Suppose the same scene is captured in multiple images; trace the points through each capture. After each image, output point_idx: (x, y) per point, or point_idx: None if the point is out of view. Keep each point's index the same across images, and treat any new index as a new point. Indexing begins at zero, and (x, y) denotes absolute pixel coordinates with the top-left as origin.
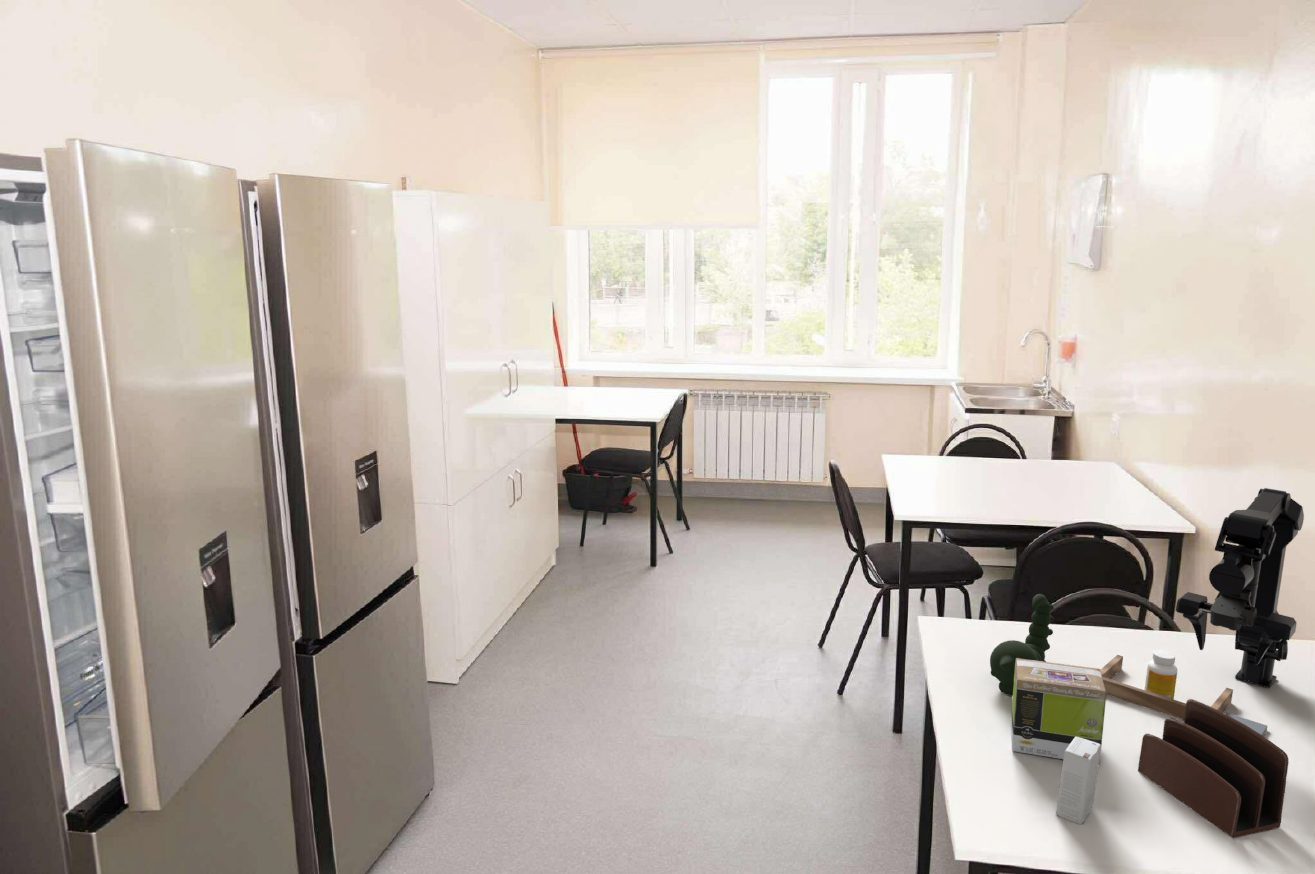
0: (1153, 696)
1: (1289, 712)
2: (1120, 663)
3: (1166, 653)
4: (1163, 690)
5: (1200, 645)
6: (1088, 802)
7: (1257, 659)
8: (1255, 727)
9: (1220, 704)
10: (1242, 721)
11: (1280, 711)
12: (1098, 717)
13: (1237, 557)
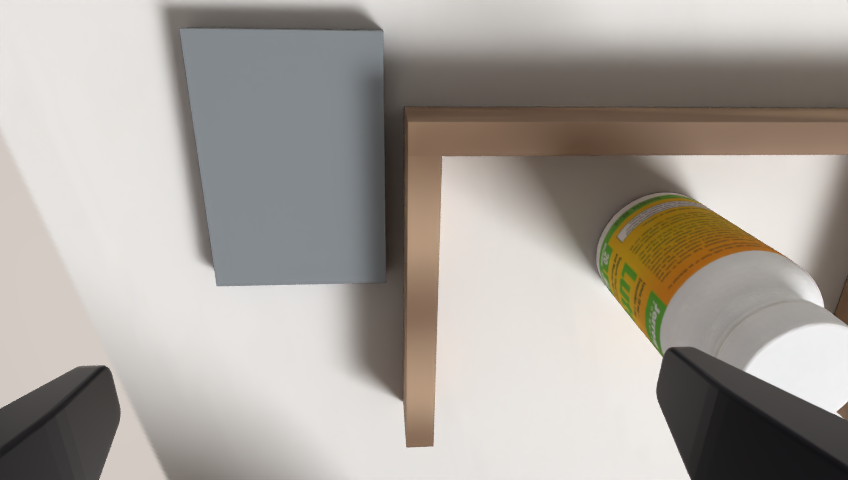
0: (701, 120)
1: (220, 473)
2: None
3: None
4: (665, 222)
5: (719, 370)
6: None
7: (24, 408)
8: (246, 230)
9: (409, 269)
10: (308, 247)
11: (245, 459)
12: None
13: None
